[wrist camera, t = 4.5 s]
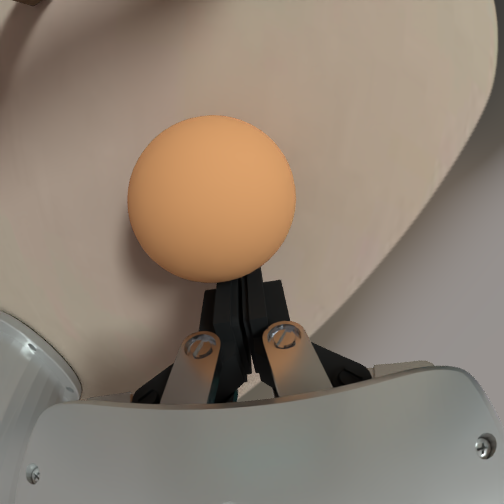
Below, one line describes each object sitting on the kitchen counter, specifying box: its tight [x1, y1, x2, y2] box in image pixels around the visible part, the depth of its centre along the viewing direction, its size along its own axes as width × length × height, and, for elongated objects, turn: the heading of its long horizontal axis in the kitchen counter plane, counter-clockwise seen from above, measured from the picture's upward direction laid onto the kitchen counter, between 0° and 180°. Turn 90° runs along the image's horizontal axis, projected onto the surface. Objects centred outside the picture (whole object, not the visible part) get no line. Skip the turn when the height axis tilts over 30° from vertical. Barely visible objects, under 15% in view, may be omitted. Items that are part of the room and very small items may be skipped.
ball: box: [128, 115, 296, 283], centre depth 9 cm, size 6×6×6 cm
